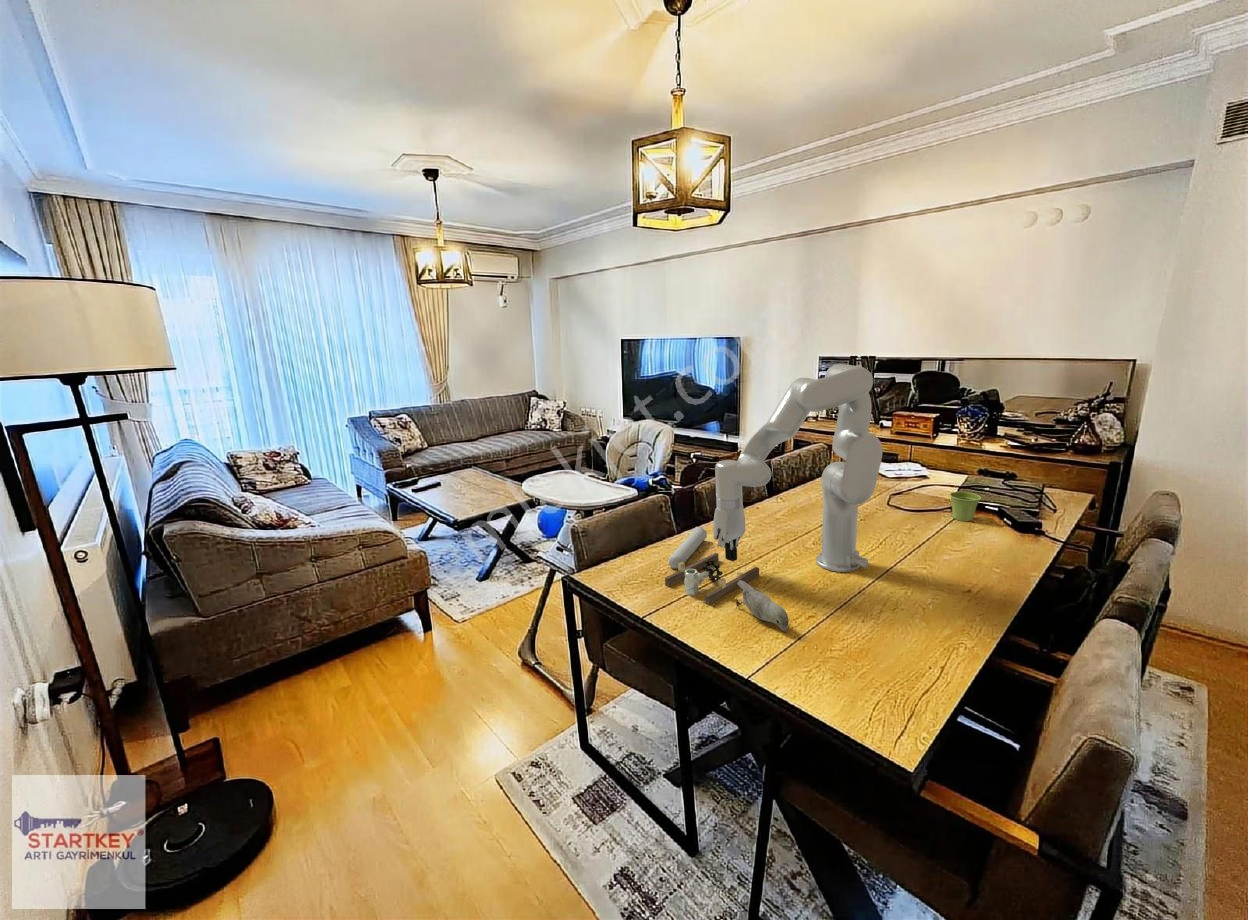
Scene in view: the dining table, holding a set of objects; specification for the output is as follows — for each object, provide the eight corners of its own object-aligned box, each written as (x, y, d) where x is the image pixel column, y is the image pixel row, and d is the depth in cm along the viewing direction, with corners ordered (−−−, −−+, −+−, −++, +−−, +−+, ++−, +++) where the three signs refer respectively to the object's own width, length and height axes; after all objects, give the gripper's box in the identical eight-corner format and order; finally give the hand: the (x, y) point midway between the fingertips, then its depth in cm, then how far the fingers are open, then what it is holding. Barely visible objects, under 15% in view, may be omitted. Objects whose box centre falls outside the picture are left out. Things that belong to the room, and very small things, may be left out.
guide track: (759, 575, 152) (759, 560, 151) (708, 605, 138) (708, 588, 137) (715, 559, 164) (715, 545, 163) (665, 585, 150) (664, 570, 149)
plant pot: (978, 516, 186) (980, 493, 184) (978, 525, 178) (981, 501, 176) (947, 512, 191) (949, 490, 189) (947, 521, 183) (949, 498, 181)
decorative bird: (778, 637, 122) (778, 609, 120) (732, 608, 136) (731, 583, 134) (794, 629, 125) (794, 602, 123) (747, 602, 138) (747, 577, 137)
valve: (696, 599, 142) (723, 583, 149) (695, 577, 140) (722, 562, 148) (678, 591, 146) (705, 576, 154) (677, 570, 145) (704, 556, 152)
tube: (683, 560, 157) (709, 530, 178) (668, 553, 159) (695, 524, 180) (679, 574, 159) (704, 543, 180) (663, 567, 161) (690, 537, 182)
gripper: (734, 493, 158) (736, 548, 163) (702, 506, 149) (705, 564, 153) (755, 497, 153) (756, 554, 157) (723, 512, 143) (725, 572, 148)
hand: (731, 559), depth 155 cm, fingers closed
